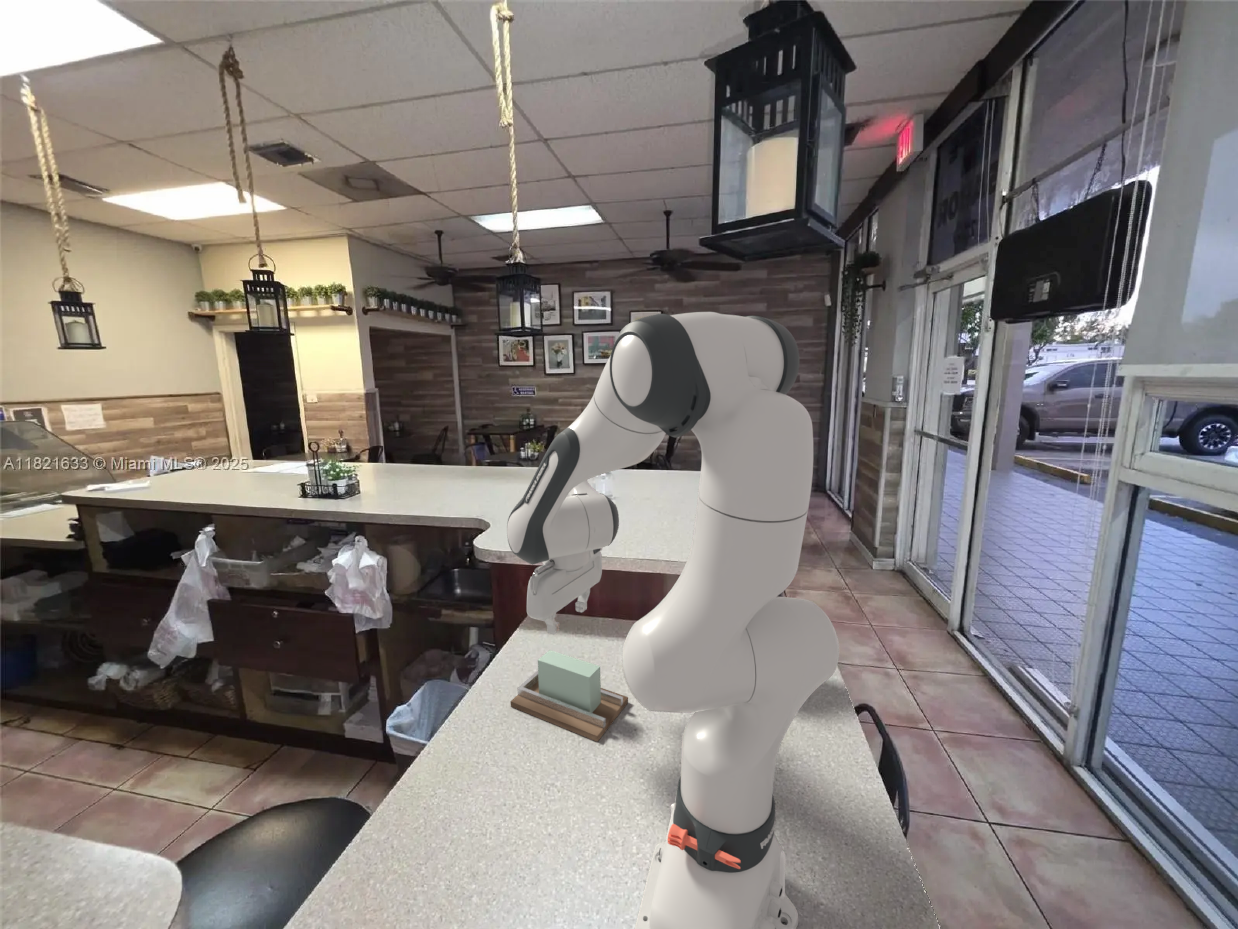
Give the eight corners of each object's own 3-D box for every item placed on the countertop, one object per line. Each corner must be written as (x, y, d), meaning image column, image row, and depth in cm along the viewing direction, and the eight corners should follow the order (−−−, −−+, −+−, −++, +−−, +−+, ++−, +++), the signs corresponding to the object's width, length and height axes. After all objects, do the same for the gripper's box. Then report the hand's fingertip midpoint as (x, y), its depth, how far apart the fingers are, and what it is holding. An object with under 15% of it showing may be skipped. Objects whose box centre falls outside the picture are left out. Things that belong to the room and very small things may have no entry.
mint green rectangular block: (590, 715, 94) (589, 677, 92) (539, 696, 99) (537, 660, 98) (600, 702, 97) (600, 666, 95) (550, 684, 103) (549, 649, 101)
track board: (597, 742, 89) (597, 736, 88) (510, 706, 98) (510, 701, 98) (628, 702, 99) (628, 697, 99) (547, 674, 108) (546, 669, 108)
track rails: (603, 728, 90) (603, 721, 90) (517, 694, 100) (517, 688, 99) (623, 703, 97) (622, 696, 96) (540, 674, 106) (540, 668, 106)
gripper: (545, 575, 82) (548, 651, 84) (607, 538, 99) (608, 603, 102) (516, 568, 85) (519, 642, 87) (580, 534, 102) (582, 597, 105)
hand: (567, 621), depth 95 cm, fingers open, 8 cm apart
